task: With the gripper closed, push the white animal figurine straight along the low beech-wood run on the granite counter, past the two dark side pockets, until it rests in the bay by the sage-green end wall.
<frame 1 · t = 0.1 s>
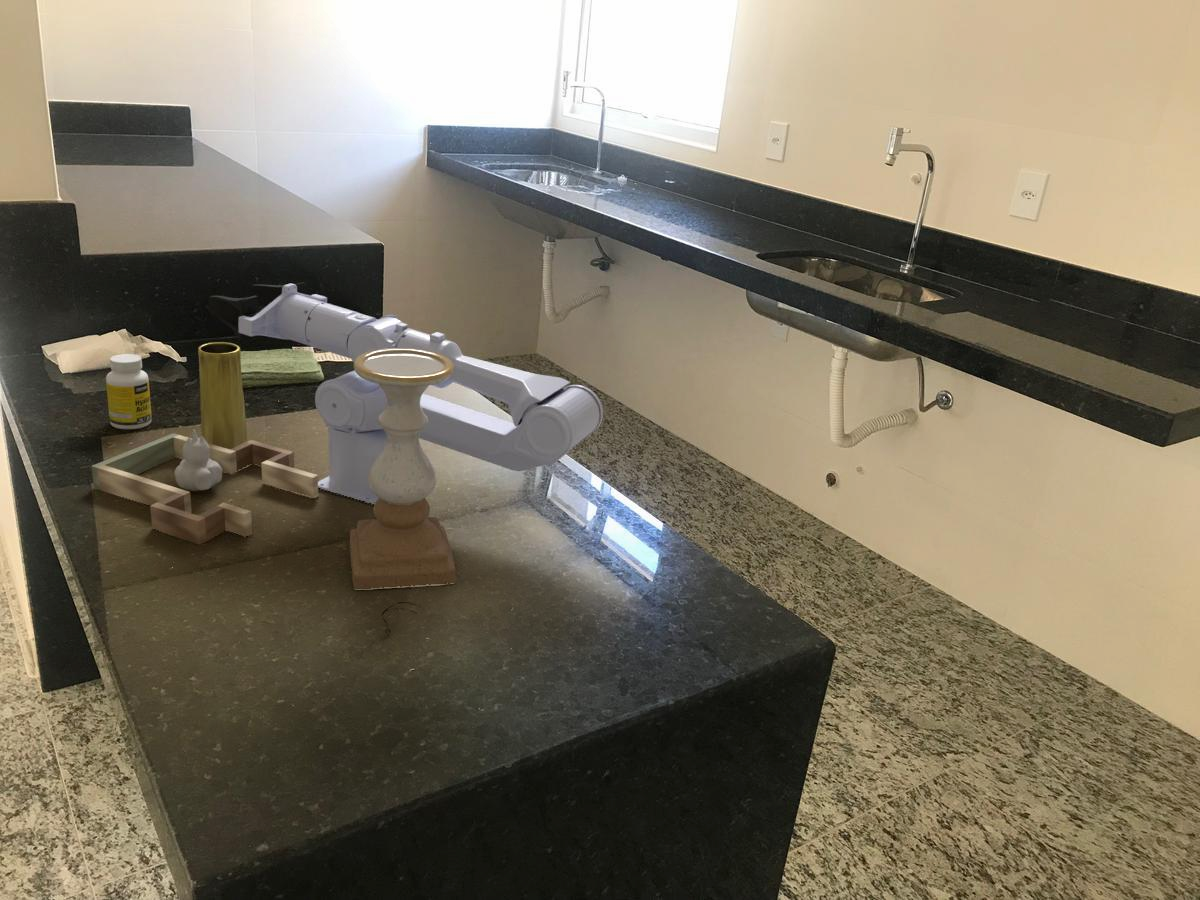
hand: (232, 298, 125), 22 cm above the counter, tool horizontal, fingers open, 7 cm apart
washcloth: (266, 377, 163), on the counter
candle holder: (401, 564, 110), on the counter
vase: (225, 448, 134), on the counter
supplement bottle: (131, 424, 139), on the counter
white animal figurine: (200, 491, 122), resting in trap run
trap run: (218, 495, 121), on the counter
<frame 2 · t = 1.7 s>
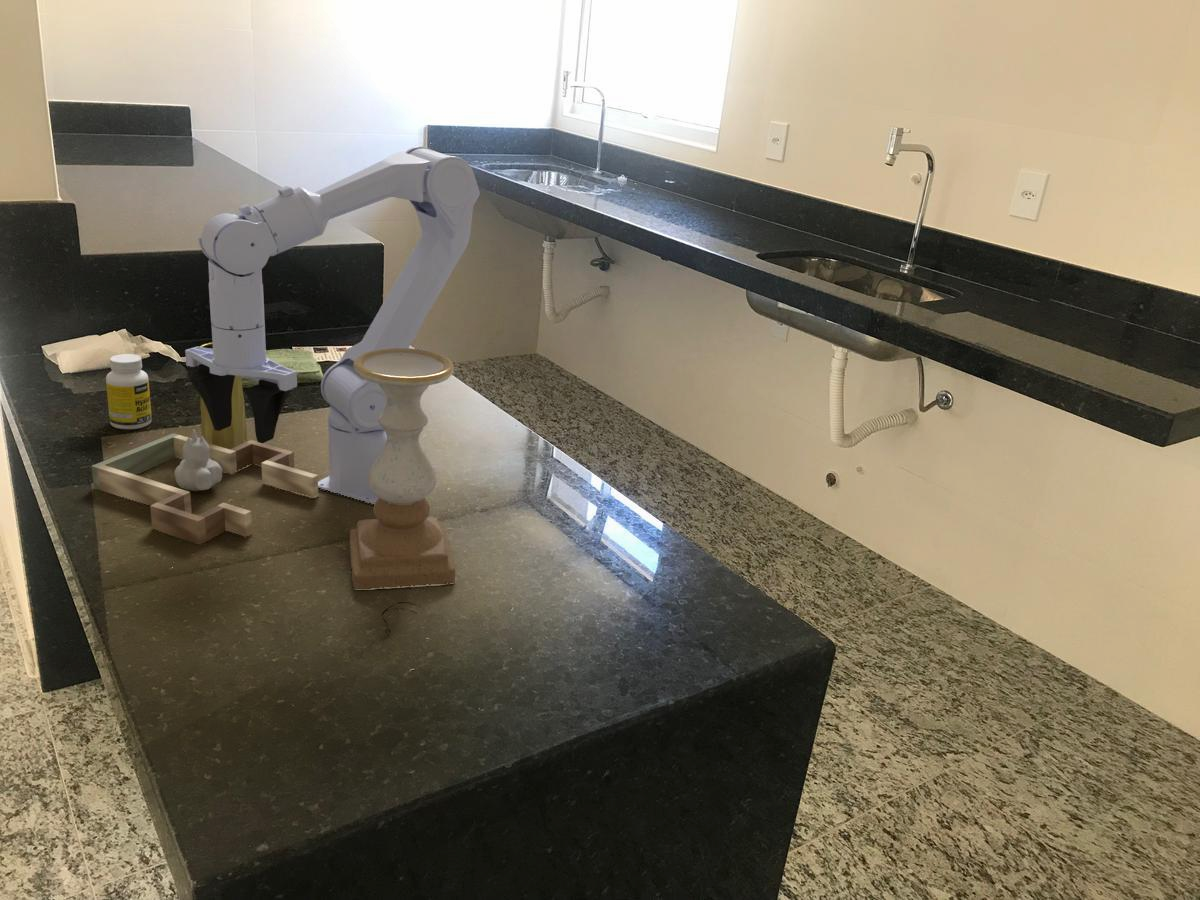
hand: (244, 434, 116), 9 cm above the counter, tool pointing down, fingers open, 6 cm apart
nothing on the counter moved.
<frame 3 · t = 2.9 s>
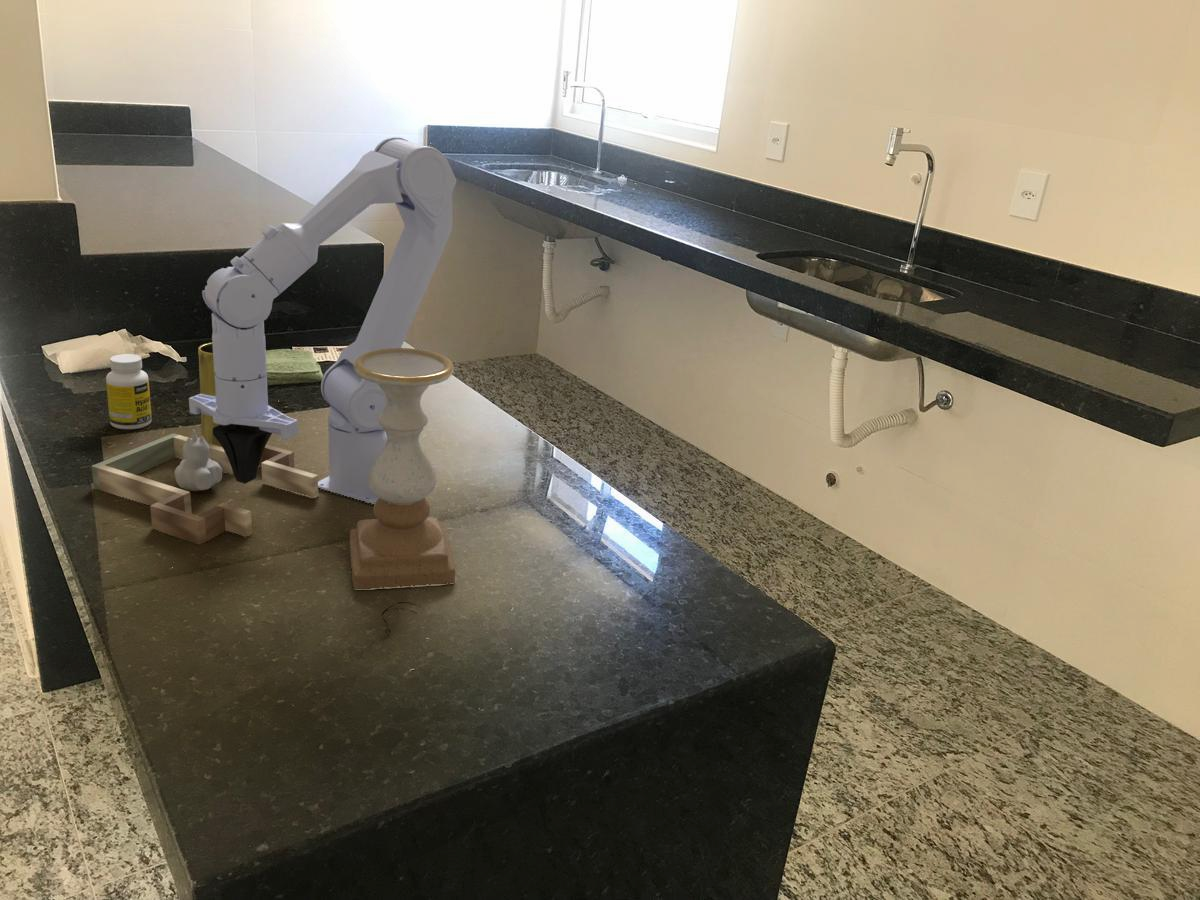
hand: (246, 479, 118), 3 cm above the counter, tool pointing down, fingers closed
nothing on the counter moved.
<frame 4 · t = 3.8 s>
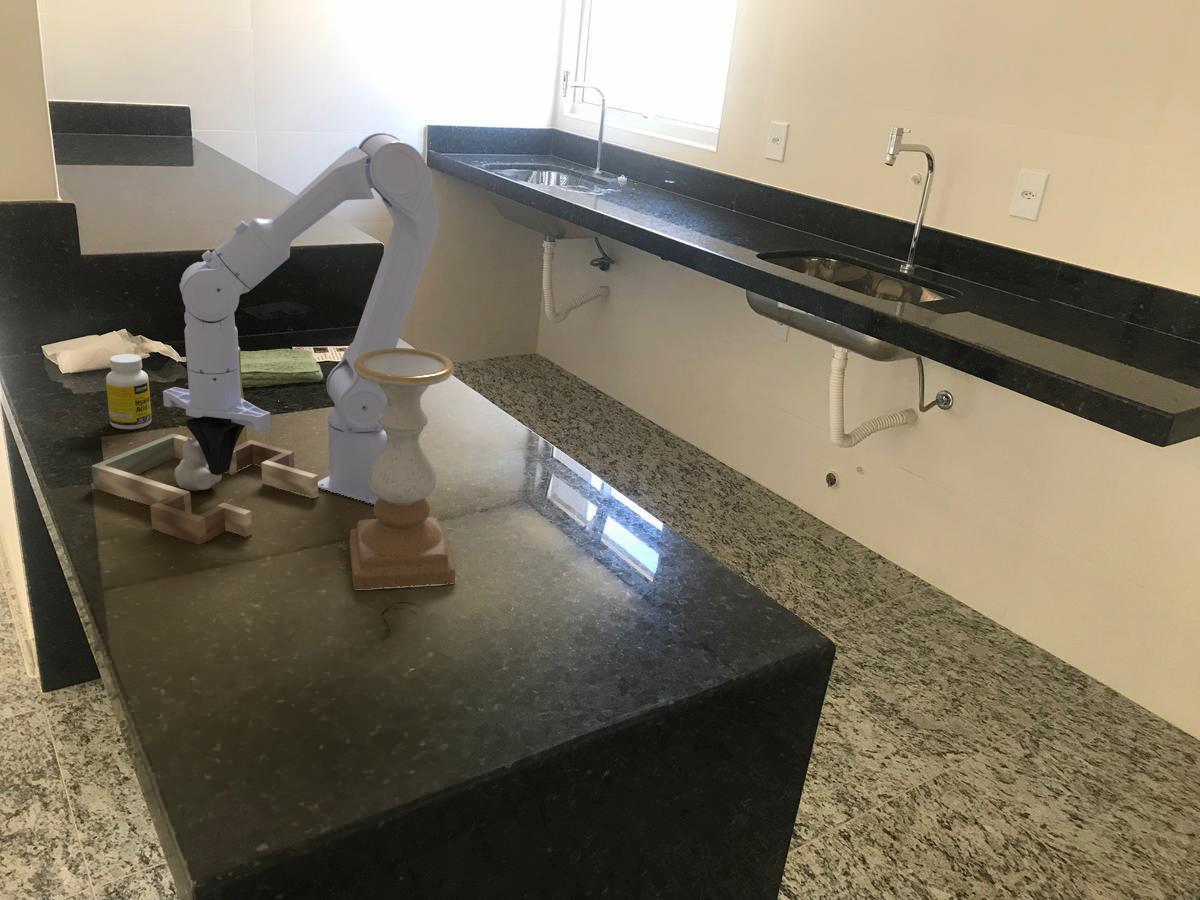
hand: (220, 471, 119), 3 cm above the counter, tool pointing down, fingers closed
white animal figurine: (199, 491, 122), resting in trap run, touching gripper
everything else where it was.
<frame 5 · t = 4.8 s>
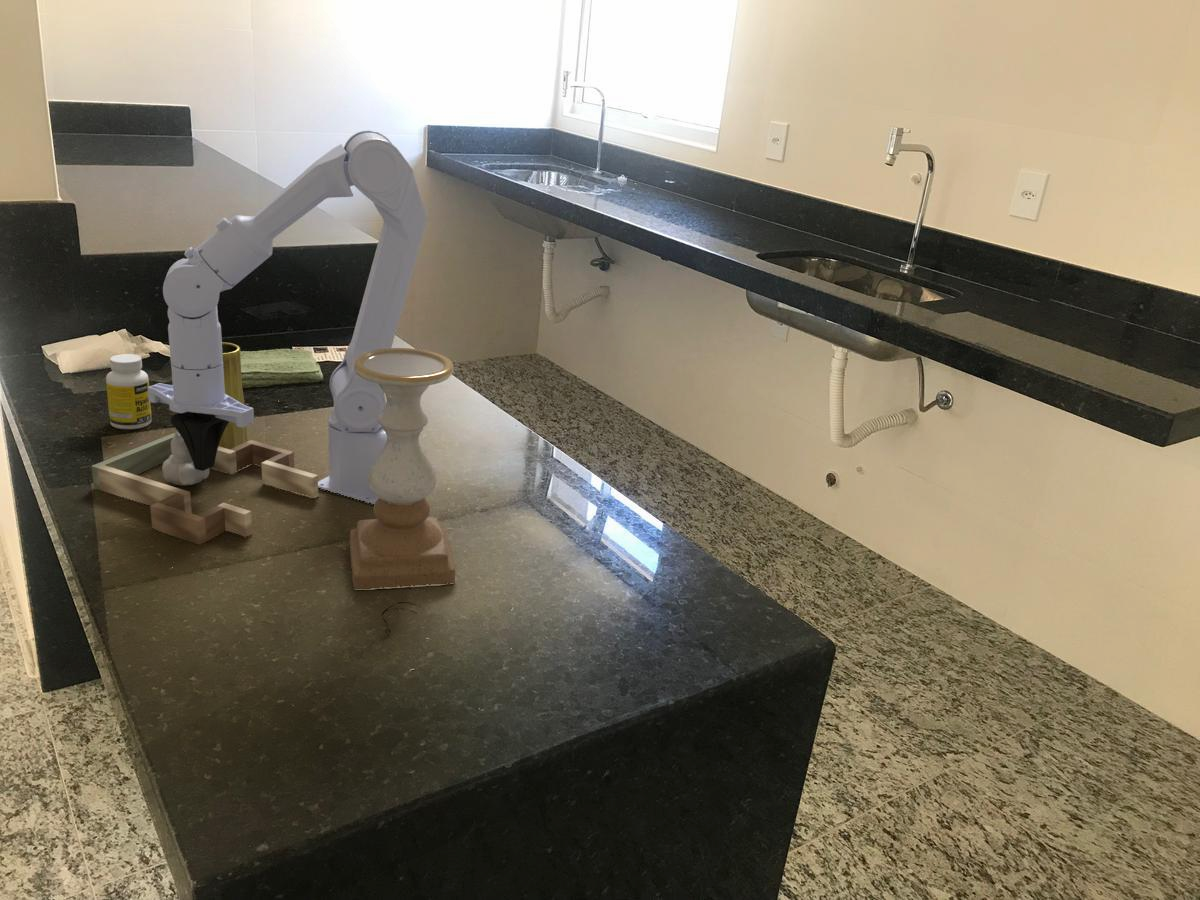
hand: (204, 467, 120), 3 cm above the counter, tool pointing down, fingers closed
white animal figurine: (187, 486, 123), resting in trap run, touching gripper
everything else where it was.
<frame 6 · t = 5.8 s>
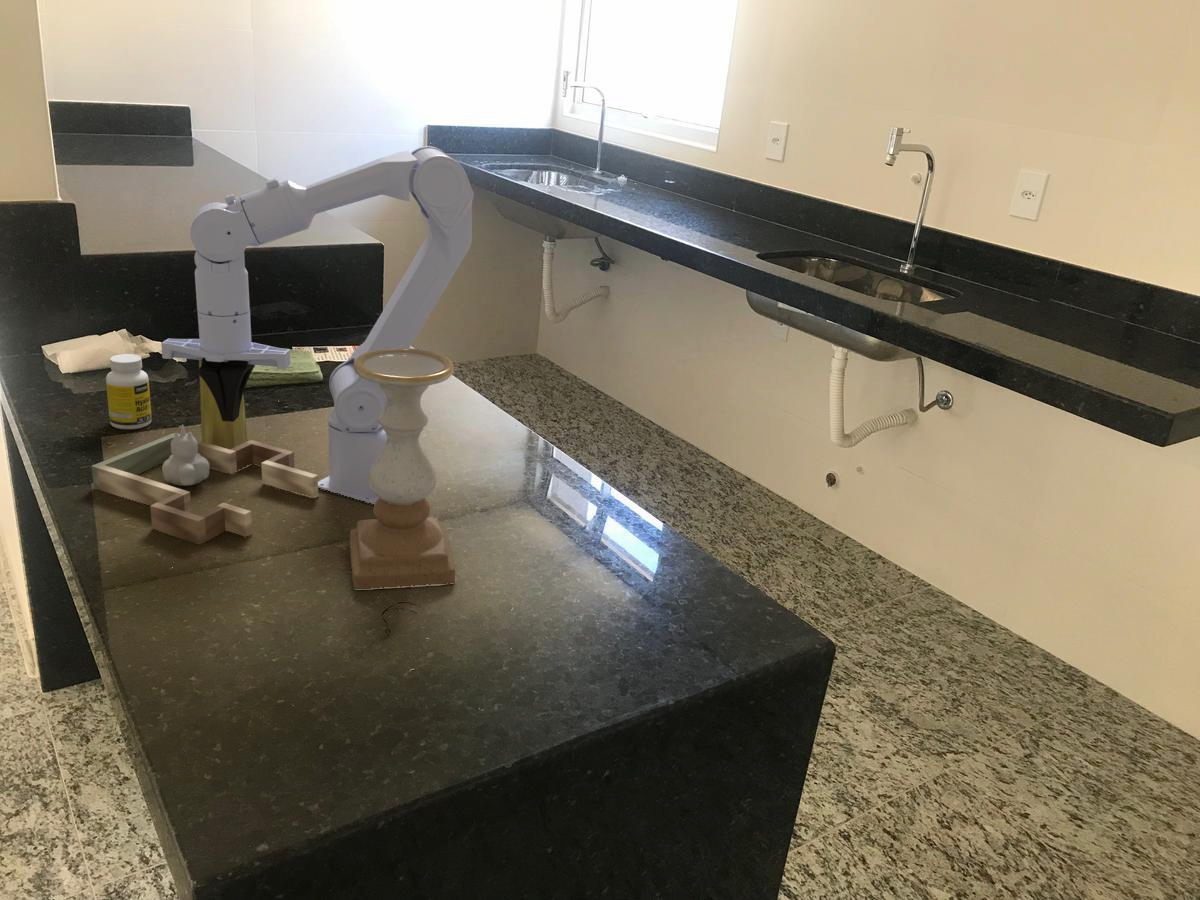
hand: (230, 418, 118), 10 cm above the counter, tool pointing down, fingers closed
white animal figurine: (187, 487, 123), resting in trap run
everything else where it was.
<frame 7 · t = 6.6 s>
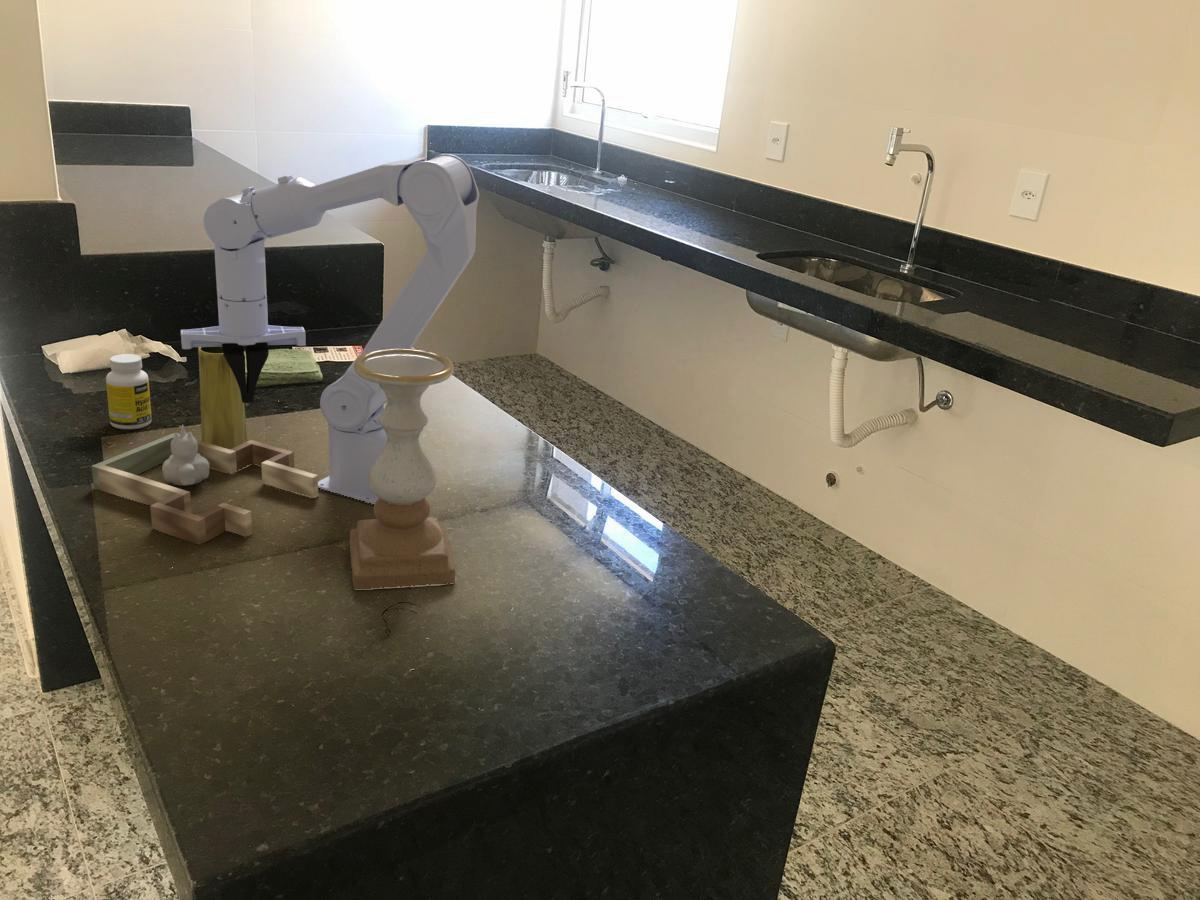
hand: (247, 399, 124), 10 cm above the counter, tool pointing down, fingers closed
nothing on the counter moved.
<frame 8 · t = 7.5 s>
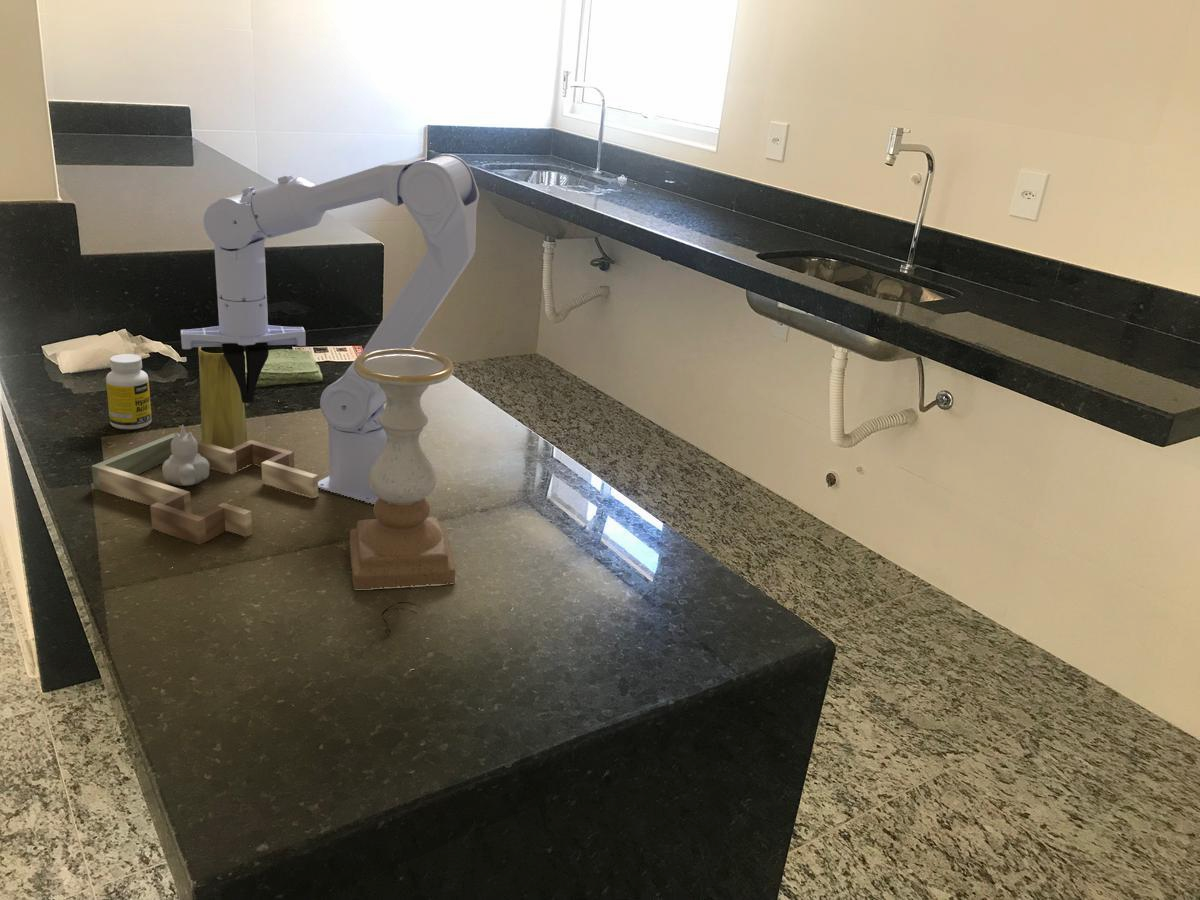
hand: (247, 399, 124), 10 cm above the counter, tool pointing down, fingers closed
nothing on the counter moved.
at the end: white animal figurine inside the target area on the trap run (3.6 cm from its centre), point 0.0 cm above the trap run's base; white animal figurine tilted 0° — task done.
